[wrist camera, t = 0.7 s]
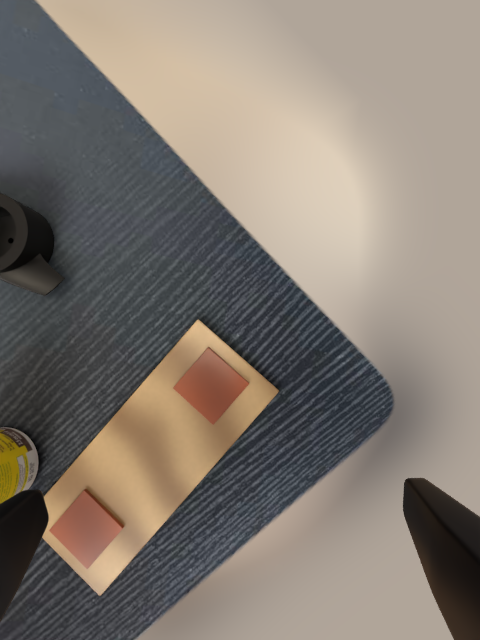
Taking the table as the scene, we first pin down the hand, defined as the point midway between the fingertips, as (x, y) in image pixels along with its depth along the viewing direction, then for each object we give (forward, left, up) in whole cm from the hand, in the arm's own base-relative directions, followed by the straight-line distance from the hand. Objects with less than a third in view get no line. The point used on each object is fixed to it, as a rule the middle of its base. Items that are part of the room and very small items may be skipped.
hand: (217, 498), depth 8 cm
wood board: (-9, +2, -16) cm, 19 cm away
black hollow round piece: (-4, +21, -17) cm, 27 cm away
